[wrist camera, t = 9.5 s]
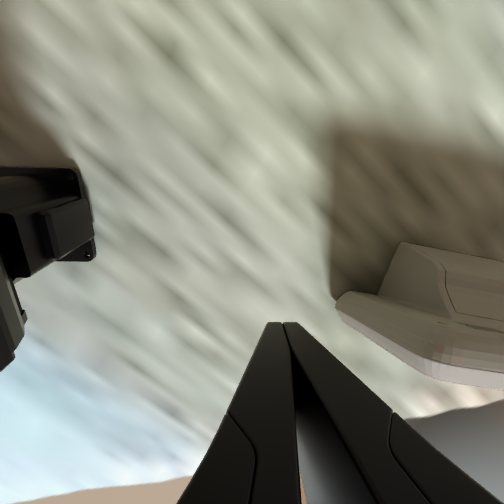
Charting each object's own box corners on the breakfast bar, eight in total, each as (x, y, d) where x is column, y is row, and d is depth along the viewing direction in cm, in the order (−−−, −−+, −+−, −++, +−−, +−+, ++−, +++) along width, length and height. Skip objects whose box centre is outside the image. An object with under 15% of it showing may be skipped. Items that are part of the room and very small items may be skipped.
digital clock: (320, 304, 23) (379, 428, 13) (379, 204, 20) (514, 266, 10) (473, 360, 26) (617, 498, 16) (545, 280, 23) (779, 388, 13)
